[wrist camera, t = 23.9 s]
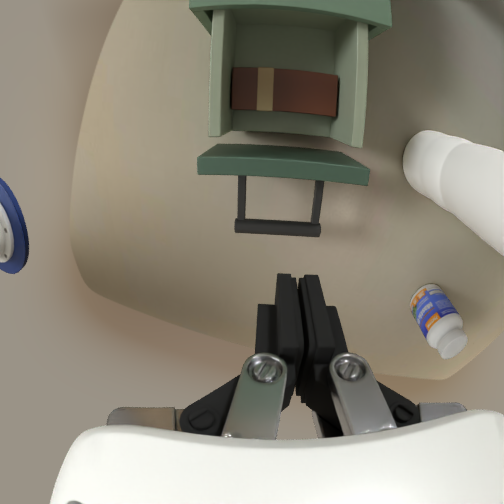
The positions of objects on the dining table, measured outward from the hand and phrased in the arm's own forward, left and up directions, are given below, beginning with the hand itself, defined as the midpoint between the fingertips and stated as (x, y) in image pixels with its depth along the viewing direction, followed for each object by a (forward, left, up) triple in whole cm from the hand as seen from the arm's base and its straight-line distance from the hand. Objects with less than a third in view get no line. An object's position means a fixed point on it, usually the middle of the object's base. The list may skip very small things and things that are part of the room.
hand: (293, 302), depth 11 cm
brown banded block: (0, +9, -15) cm, 18 cm away
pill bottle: (+22, -13, -17) cm, 31 cm away
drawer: (0, +7, -16) cm, 18 cm away
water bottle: (+16, +5, -17) cm, 24 cm away
